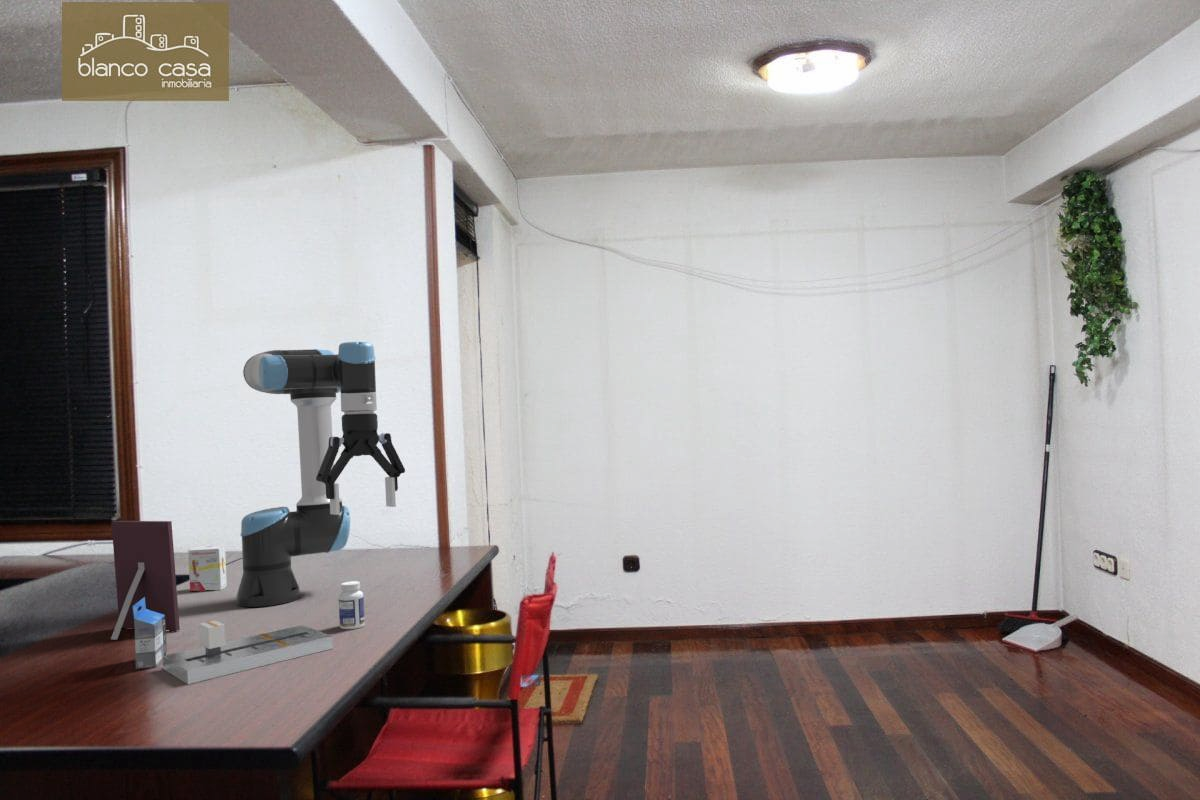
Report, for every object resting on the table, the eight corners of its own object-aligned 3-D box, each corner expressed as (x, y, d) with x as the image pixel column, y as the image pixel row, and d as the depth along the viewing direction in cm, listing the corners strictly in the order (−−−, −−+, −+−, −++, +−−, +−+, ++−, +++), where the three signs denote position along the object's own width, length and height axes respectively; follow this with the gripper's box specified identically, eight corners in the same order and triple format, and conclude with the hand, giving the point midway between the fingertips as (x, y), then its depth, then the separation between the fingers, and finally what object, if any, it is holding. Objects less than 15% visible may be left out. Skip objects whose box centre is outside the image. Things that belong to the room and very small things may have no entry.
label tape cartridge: (157, 667, 168) (154, 604, 168) (134, 670, 167) (131, 606, 167) (167, 655, 176) (165, 594, 176) (146, 657, 175) (143, 596, 175)
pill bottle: (357, 622, 196) (355, 579, 196) (369, 625, 192) (367, 582, 192) (335, 627, 193) (333, 583, 193) (347, 631, 189) (345, 586, 189)
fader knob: (201, 665, 167) (199, 622, 167) (217, 661, 169) (215, 619, 169) (210, 670, 163) (208, 627, 163) (226, 666, 165) (224, 623, 165)
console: (163, 669, 166) (162, 655, 166) (302, 636, 186) (302, 624, 186) (187, 684, 156) (187, 669, 156) (333, 648, 176) (332, 635, 176)
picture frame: (179, 630, 196) (174, 520, 196) (144, 643, 186) (138, 527, 186) (123, 627, 201) (118, 520, 201) (86, 639, 192) (81, 526, 192)
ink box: (189, 592, 238) (187, 549, 238) (195, 588, 243) (193, 546, 243) (221, 590, 239) (219, 547, 239) (227, 586, 243) (225, 544, 243)
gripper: (313, 415, 177) (318, 518, 177) (417, 410, 195) (422, 504, 195) (296, 415, 182) (301, 516, 182) (399, 410, 200) (403, 502, 200)
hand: (363, 510), depth 188 cm, fingers open, 13 cm apart
